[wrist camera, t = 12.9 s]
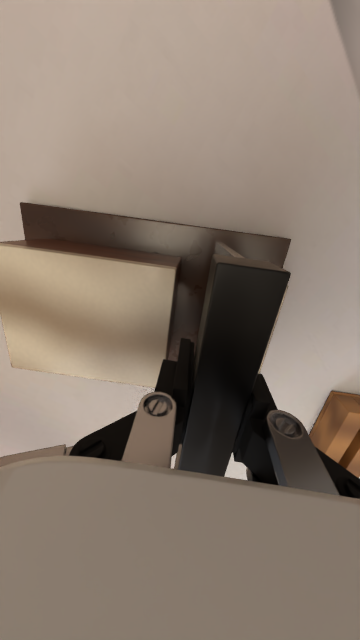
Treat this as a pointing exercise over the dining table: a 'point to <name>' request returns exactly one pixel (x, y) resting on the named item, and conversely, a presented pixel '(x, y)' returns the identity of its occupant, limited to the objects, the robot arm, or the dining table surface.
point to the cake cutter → (228, 355)
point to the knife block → (340, 430)
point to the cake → (109, 290)
